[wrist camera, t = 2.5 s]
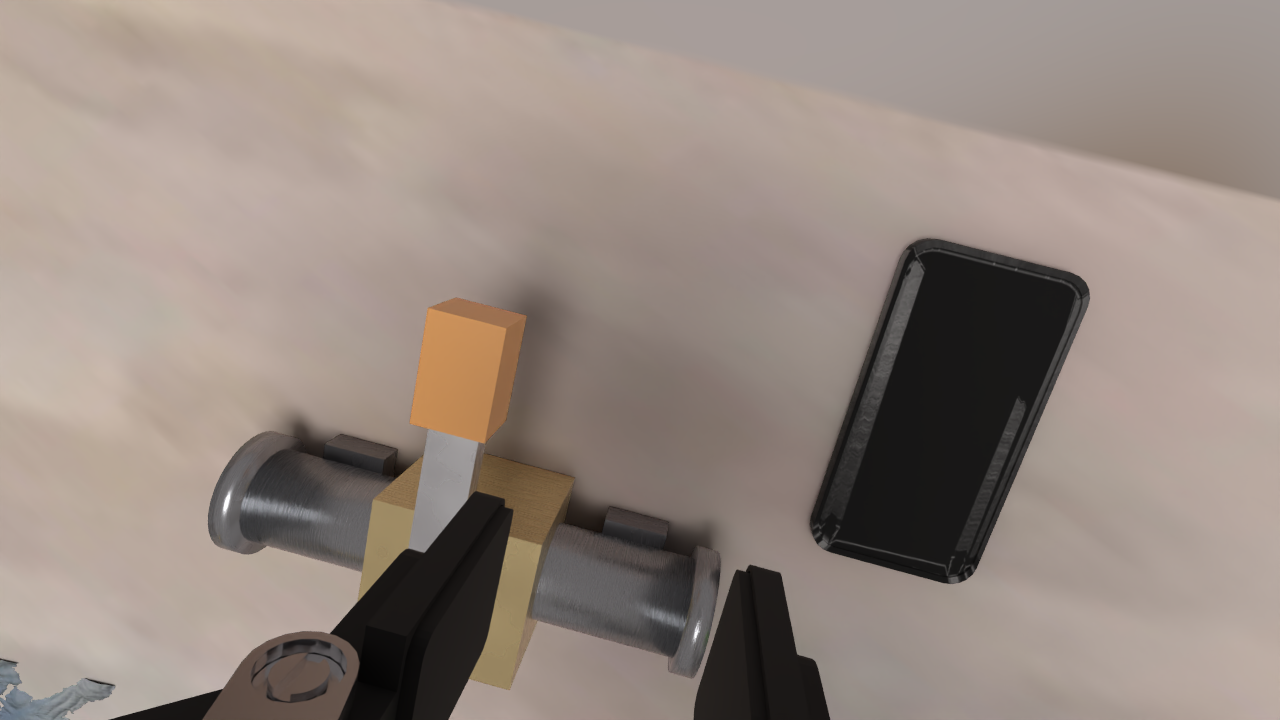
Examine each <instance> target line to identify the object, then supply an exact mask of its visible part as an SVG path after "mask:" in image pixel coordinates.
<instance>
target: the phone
mask: <svg viewBox="0 0 1280 720" xmlns="http://www.w3.org/2000/svg"><path fill="white" fill-rule="evenodd" d="M1089 300H1090V294H1089V289H1088V286H1087V284H1086V282H1085V281H1084V280H1083V279H1082V278H1080V277H1079V276H1077V275H1075V274H1073V273H1070V272H1066V271H1062V270H1058V269H1054V268H1050V267H1046V266H1042V265H1038V264H1034V263H1030V262H1026V261H1022V260H1018V259H1014V258H1010V257H1006V256H1002V255H998V254H994V253H991V252H987V251H983V250H979V249H975V248H971V247H967V246H963V245H959V244H955V243H951V242H947V241H943V240H937V239H922V240H918V241H916V242H915V243H913V244H911V245H910V246H909V247H908V248H907V249H906V250H905V251H904V252H903V254H902V256H901V258H900V260H899V263H898V266H897V269H896V272H895V275H894V278H893V281H892V283H891V286H890V289H889V292H888V295H887V298H886V301H885V304H884V307H883V310H882V312H881V315H880V318H879V321H878V324H877V327H876V330H875V333H874V336H873V338H872V341H871V344H870V347H869V350H868V353H867V356H866V359H865V362H864V365H863V367H862V370H861V373H860V376H859V379H858V382H857V385H856V388H855V391H854V394H853V396H852V399H851V402H850V405H849V408H848V411H847V414H846V417H845V420H844V422H843V425H842V428H841V431H840V434H839V437H838V440H837V443H836V446H835V449H834V451H833V454H832V457H831V460H830V463H829V466H828V469H827V472H826V475H825V477H824V480H823V483H822V486H821V489H820V492H819V495H818V498H817V501H816V504H815V506H814V509H813V512H812V515H811V520H810V527H811V531H812V534H813V537H814V539H815V541H816V543H817V544H818V545H819V546H820V547H821V548H822V549H824V550H826V551H829V552H831V553H835V554H839V555H842V556H846V557H850V558H853V559H857V560H861V561H864V562H868V563H872V564H875V565H879V566H883V567H886V568H890V569H894V570H897V571H901V572H905V573H908V574H912V575H916V576H919V577H923V578H927V579H930V580H934V581H938V582H941V583H947V584H954V583H960V582H962V581H964V580H967V579H968V578H969V577H970V576H971V575H973V573H974V572H975V570H976V568H977V566H978V564H979V561H980V559H981V557H982V554H983V552H984V550H985V547H986V545H987V543H988V540H989V538H990V535H991V533H992V531H993V528H994V526H995V524H996V521H997V519H998V517H999V514H1000V512H1001V510H1002V507H1003V505H1004V503H1005V500H1006V498H1007V495H1008V493H1009V491H1010V488H1011V486H1012V484H1013V481H1014V479H1015V477H1016V474H1017V472H1018V470H1019V467H1020V465H1021V463H1022V460H1023V458H1024V456H1025V453H1026V451H1027V448H1028V446H1029V444H1030V441H1031V439H1032V437H1033V434H1034V432H1035V430H1036V427H1037V425H1038V423H1039V420H1040V418H1041V416H1042V413H1043V411H1044V409H1045V406H1046V404H1047V401H1048V399H1049V397H1050V394H1051V392H1052V390H1053V387H1054V385H1055V383H1056V380H1057V378H1058V376H1059V373H1060V371H1061V369H1062V366H1063V364H1064V362H1065V359H1066V357H1067V355H1068V352H1069V350H1070V347H1071V345H1072V343H1073V340H1074V338H1075V336H1076V333H1077V331H1078V329H1079V326H1080V324H1081V322H1082V319H1083V317H1084V315H1085V312H1086V310H1087V308H1088V304H1089Z"/></svg>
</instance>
